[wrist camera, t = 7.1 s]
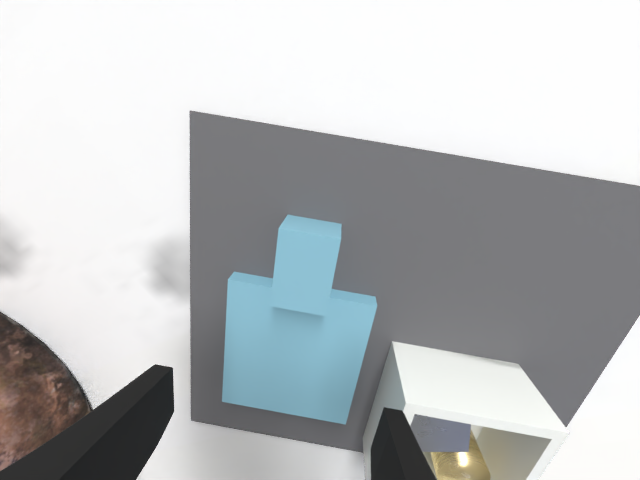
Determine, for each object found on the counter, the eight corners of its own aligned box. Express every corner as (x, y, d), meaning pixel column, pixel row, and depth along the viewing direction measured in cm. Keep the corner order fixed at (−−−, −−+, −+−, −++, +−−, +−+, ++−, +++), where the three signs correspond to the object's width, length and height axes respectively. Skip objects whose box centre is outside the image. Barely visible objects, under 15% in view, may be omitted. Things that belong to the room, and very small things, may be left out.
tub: (469, 458, 22) (500, 537, 17) (362, 438, 22) (366, 511, 18) (518, 363, 18) (569, 432, 14) (391, 341, 19) (405, 403, 14)
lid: (345, 411, 21) (345, 445, 19) (227, 389, 21) (213, 420, 19) (392, 232, 16) (399, 249, 14) (237, 205, 16) (220, 218, 14)
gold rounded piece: (461, 448, 21) (479, 498, 18) (419, 440, 21) (430, 488, 18) (476, 418, 20) (498, 466, 17) (431, 409, 20) (446, 456, 17)
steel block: (450, 405, 19) (468, 452, 17) (400, 405, 20) (410, 451, 17) (452, 367, 18) (472, 410, 15) (400, 368, 19) (410, 410, 16)
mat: (527, 478, 22) (529, 483, 22) (192, 416, 23) (190, 420, 23) (708, 197, 14) (715, 199, 14) (192, 111, 15) (189, 110, 15)
